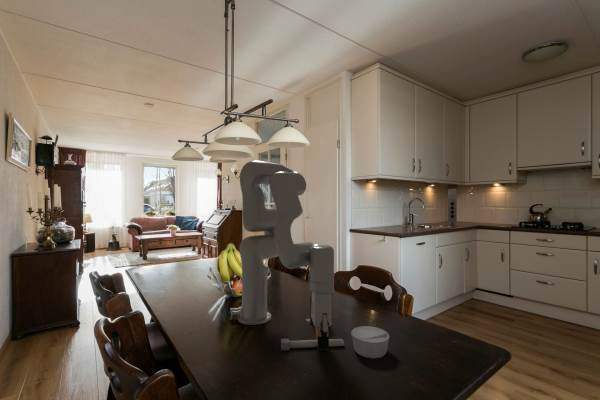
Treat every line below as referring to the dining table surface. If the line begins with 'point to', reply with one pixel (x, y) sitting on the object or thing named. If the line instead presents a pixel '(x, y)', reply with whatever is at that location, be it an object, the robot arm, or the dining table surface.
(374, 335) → the ramekin
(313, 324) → the condiment
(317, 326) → the tan wooden block
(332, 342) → the long grey bar
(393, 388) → the dining table surface
